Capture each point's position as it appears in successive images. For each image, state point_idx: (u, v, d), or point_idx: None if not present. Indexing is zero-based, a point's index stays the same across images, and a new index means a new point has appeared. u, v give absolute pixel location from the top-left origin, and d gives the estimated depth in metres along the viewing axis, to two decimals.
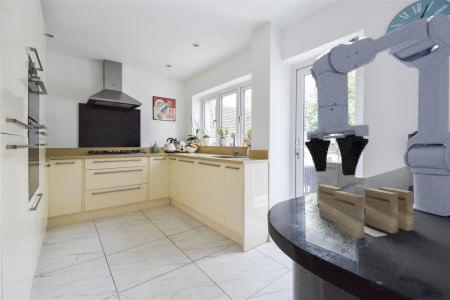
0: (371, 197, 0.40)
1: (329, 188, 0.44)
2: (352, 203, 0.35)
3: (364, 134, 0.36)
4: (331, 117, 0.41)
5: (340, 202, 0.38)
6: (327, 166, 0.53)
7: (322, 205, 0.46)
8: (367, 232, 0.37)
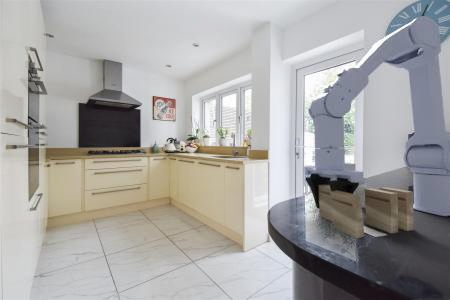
0: (371, 197, 0.40)
1: (329, 188, 0.44)
2: (349, 203, 0.35)
3: (359, 181, 0.38)
4: (328, 159, 0.42)
5: (337, 202, 0.38)
6: None
7: (322, 205, 0.46)
8: (367, 232, 0.37)
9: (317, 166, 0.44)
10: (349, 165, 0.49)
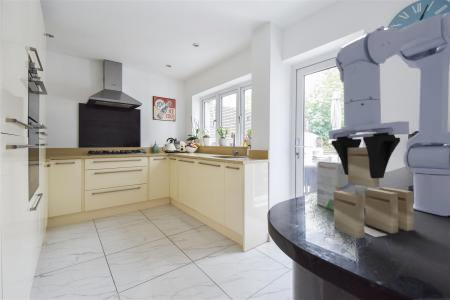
0: (371, 197, 0.40)
1: (362, 148, 0.38)
2: (352, 203, 0.35)
3: (404, 132, 0.32)
4: (362, 113, 0.36)
5: (340, 202, 0.38)
6: (327, 166, 0.53)
7: (352, 170, 0.40)
8: (367, 232, 0.37)
9: (348, 123, 0.38)
10: None
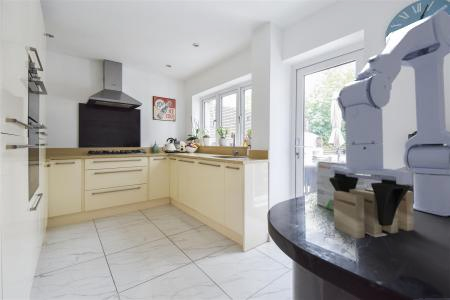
0: None
1: (364, 193, 0.37)
2: (352, 203, 0.35)
3: (407, 183, 0.31)
4: (364, 157, 0.36)
5: (340, 202, 0.38)
6: (327, 166, 0.53)
7: None
8: (367, 232, 0.37)
9: (350, 165, 0.38)
10: None
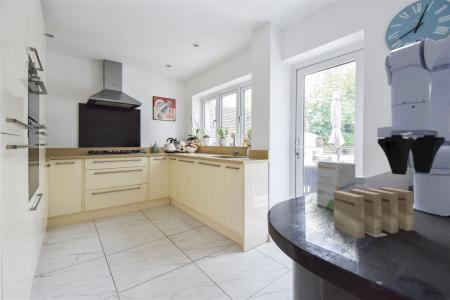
0: None
1: (364, 193, 0.37)
2: (352, 203, 0.35)
3: (382, 135, 0.40)
4: (391, 118, 0.43)
5: (340, 202, 0.38)
6: (327, 166, 0.53)
7: None
8: (367, 232, 0.37)
9: None
10: (349, 165, 0.49)
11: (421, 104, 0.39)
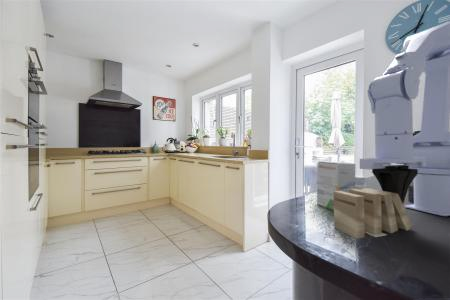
0: None
1: (364, 193, 0.37)
2: (352, 203, 0.35)
3: (364, 167, 0.38)
4: (375, 147, 0.42)
5: (340, 202, 0.38)
6: (327, 166, 0.53)
7: None
8: (367, 232, 0.37)
9: None
10: (349, 165, 0.49)
11: (404, 136, 0.37)
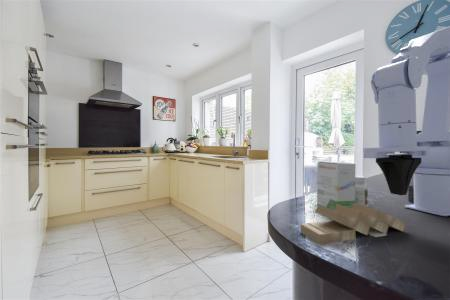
0: None
1: None
2: None
3: (367, 156, 0.39)
4: None
5: None
6: (327, 166, 0.53)
7: None
8: None
9: None
10: (349, 165, 0.49)
11: (407, 125, 0.38)
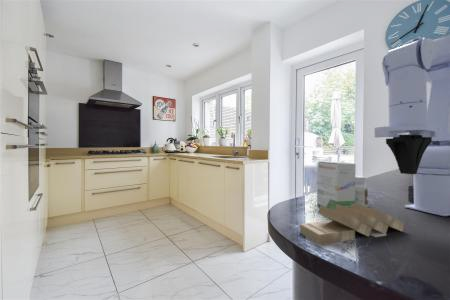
0: None
1: (332, 219, 0.35)
2: None
3: (379, 135, 0.39)
4: None
5: None
6: (327, 166, 0.53)
7: (339, 223, 0.38)
8: None
9: None
10: (349, 165, 0.49)
11: (418, 104, 0.38)
